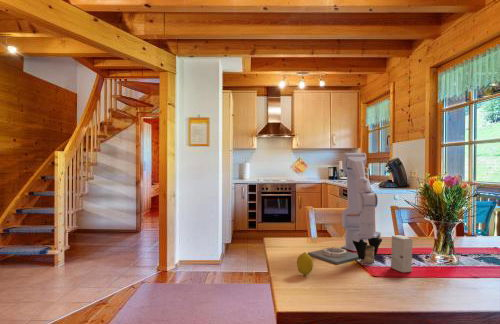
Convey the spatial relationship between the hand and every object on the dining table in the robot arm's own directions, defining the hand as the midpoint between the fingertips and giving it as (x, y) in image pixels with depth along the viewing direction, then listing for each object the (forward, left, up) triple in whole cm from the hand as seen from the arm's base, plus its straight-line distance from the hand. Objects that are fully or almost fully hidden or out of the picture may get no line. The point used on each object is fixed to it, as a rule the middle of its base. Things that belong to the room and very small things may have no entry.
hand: (367, 257), depth 125 cm
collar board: (+5, -12, -2) cm, 13 cm away
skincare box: (-2, +13, -2) cm, 13 cm away
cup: (0, 0, -2) cm, 2 cm away
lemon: (+32, -2, -2) cm, 32 cm away
